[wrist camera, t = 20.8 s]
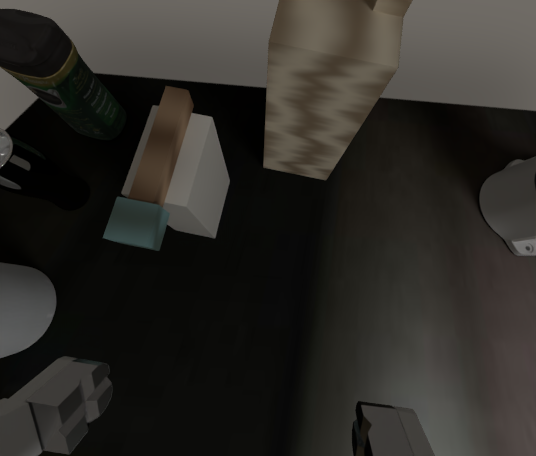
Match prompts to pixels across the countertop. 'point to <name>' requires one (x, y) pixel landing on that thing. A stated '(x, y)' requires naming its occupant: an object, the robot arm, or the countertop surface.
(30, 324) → the utensil holder
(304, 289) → the countertop surface
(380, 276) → the countertop surface
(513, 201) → the robot arm
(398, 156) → the countertop surface
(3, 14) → the coffee jar
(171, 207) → the pedestal
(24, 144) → the beer glass
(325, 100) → the brown boxy piece
